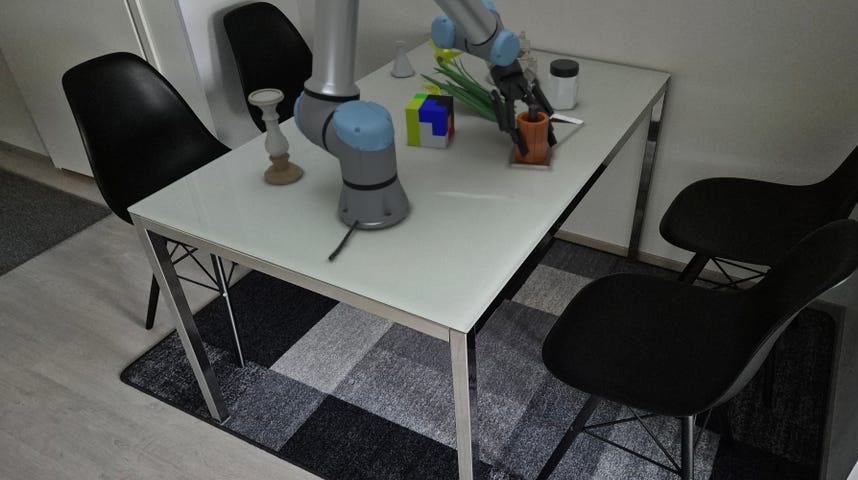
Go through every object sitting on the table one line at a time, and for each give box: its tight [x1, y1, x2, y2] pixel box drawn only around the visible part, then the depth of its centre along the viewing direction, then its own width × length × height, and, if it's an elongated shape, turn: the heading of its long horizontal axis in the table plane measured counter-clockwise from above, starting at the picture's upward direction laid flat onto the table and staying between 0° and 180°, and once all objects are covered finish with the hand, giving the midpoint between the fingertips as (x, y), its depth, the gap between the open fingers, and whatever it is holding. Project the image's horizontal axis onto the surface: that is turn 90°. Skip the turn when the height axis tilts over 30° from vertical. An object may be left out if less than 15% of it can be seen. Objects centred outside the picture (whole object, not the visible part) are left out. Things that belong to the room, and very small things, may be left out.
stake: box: [508, 104, 553, 167], centre depth 153 cm, size 10×10×14 cm
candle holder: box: [247, 88, 303, 186], centre depth 145 cm, size 9×9×20 cm
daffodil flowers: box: [417, 36, 518, 124], centre depth 176 cm, size 17×15×35 cm
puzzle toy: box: [405, 92, 455, 149], centre depth 163 cm, size 10×10×10 cm
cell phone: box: [550, 113, 585, 125], centre depth 169 cm, size 9×18×1 cm, turn 146°
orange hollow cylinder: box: [515, 110, 549, 162], centre depth 153 cm, size 8×8×10 cm
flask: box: [391, 40, 414, 78], centre depth 200 cm, size 7×7×10 cm
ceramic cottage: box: [486, 29, 540, 92], centre depth 193 cm, size 16×16×15 cm
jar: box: [546, 58, 580, 111], centre depth 180 cm, size 9×8×12 cm
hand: (539, 149), depth 152 cm, fingers closed on orange hollow cylinder, 8 cm apart
